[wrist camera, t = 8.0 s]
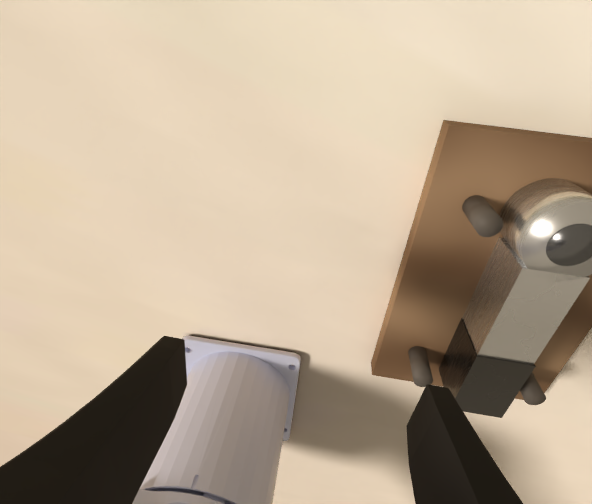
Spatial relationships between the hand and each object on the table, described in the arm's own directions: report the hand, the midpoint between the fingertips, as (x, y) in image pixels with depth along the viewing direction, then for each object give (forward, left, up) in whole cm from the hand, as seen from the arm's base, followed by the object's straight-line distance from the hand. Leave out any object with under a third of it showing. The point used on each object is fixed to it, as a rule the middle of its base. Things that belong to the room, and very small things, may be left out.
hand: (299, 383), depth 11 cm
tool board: (-1, -9, -9) cm, 13 cm away
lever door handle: (-1, -9, -8) cm, 13 cm away
